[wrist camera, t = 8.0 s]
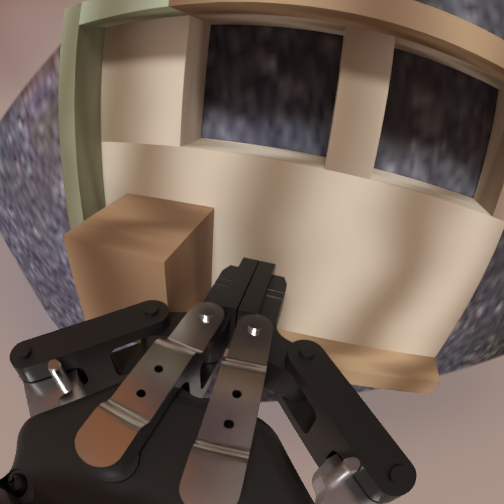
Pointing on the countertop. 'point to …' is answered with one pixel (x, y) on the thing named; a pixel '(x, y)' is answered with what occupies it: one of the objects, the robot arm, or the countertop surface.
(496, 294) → the countertop surface
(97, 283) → the walnut block
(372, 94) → the trap lane
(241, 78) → the countertop surface
